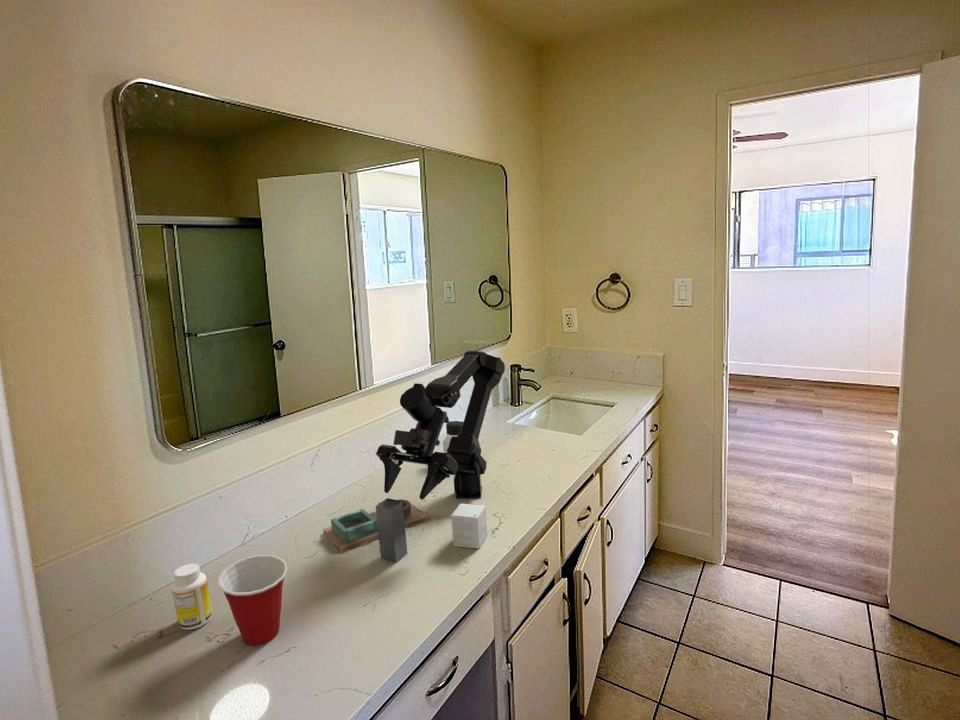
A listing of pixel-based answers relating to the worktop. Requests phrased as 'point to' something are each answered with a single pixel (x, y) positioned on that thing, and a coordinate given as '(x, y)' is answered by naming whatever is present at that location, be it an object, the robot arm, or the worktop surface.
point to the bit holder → (366, 526)
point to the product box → (469, 526)
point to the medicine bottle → (452, 432)
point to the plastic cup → (255, 596)
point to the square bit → (391, 530)
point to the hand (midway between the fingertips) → (403, 495)
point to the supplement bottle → (191, 597)
